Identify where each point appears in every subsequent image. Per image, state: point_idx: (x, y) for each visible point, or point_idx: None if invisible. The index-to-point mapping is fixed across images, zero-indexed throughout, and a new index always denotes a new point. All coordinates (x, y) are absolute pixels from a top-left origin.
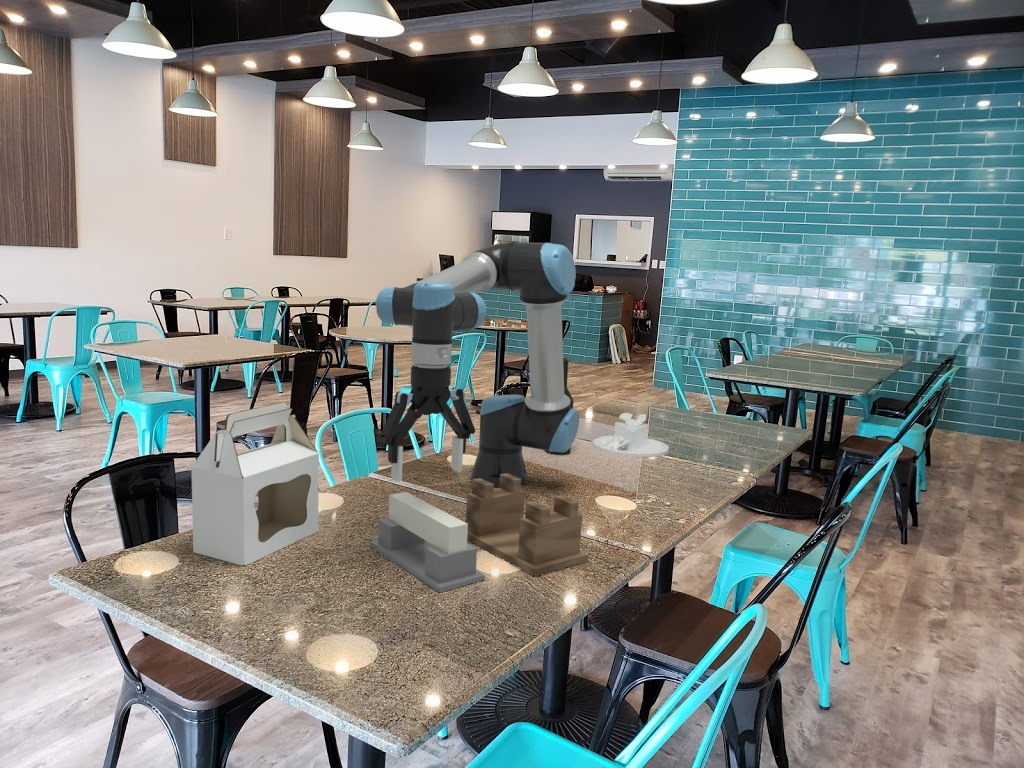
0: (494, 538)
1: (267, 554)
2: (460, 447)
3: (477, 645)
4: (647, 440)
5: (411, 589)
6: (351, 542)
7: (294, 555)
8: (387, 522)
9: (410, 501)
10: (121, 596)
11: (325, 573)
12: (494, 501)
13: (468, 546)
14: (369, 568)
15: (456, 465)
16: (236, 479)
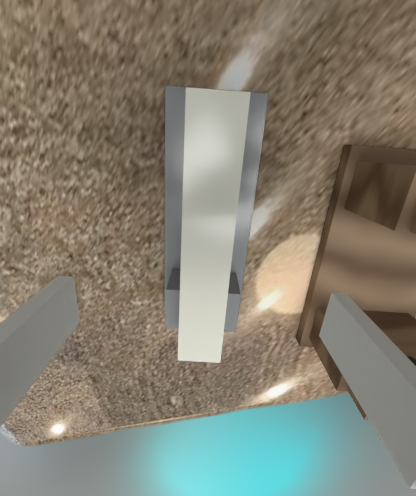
0: (356, 232)
1: None
2: (379, 431)
3: (133, 399)
4: None
5: (139, 279)
6: (143, 38)
7: (9, 33)
8: (174, 127)
9: (205, 184)
10: None
11: (45, 158)
12: None
13: (229, 320)
14: (118, 184)
15: (331, 336)
16: None
